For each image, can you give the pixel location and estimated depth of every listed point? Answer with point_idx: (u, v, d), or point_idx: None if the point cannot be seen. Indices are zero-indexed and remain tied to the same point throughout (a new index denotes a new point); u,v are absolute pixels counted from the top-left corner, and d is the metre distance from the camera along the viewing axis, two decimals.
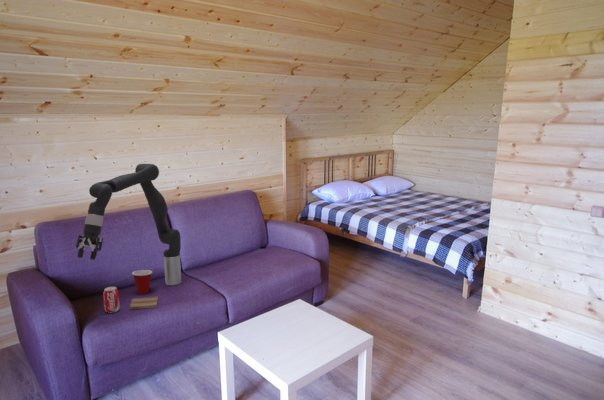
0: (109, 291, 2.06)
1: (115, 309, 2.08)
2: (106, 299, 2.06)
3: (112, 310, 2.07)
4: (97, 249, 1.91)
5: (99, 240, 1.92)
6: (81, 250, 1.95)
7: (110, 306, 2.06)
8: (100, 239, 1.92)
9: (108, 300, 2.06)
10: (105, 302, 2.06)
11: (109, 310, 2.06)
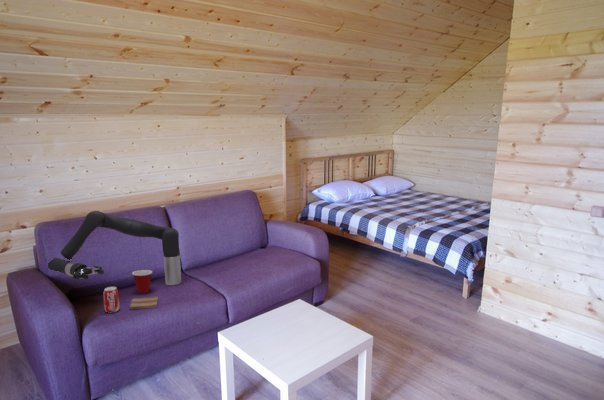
0: (109, 291, 2.06)
1: (115, 309, 2.08)
2: (106, 299, 2.06)
3: (112, 310, 2.07)
4: (76, 278, 2.09)
5: (72, 276, 2.11)
6: (98, 271, 2.18)
7: (110, 306, 2.06)
8: (71, 275, 2.11)
9: (108, 300, 2.06)
10: (105, 302, 2.06)
11: (109, 310, 2.06)
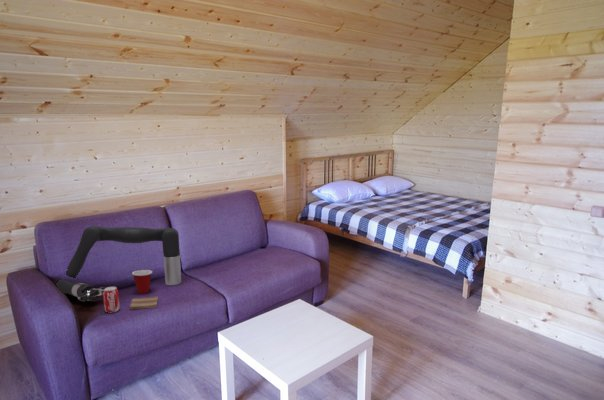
0: (109, 291, 2.06)
1: (115, 309, 2.08)
2: (106, 299, 2.06)
3: (112, 310, 2.07)
4: (83, 300, 2.09)
5: (78, 298, 2.11)
6: None
7: (110, 306, 2.06)
8: (78, 297, 2.12)
9: (108, 300, 2.06)
10: (105, 302, 2.06)
11: (109, 310, 2.06)
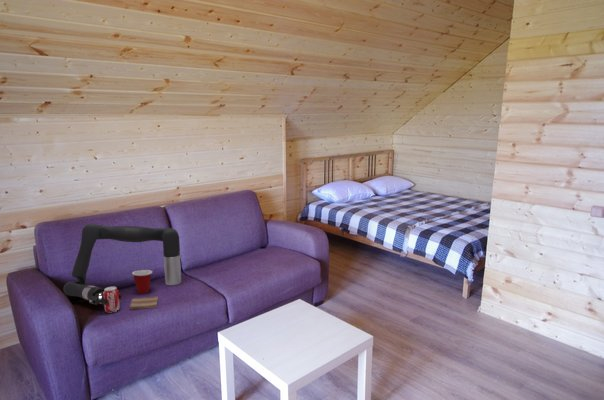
0: (109, 291, 2.06)
1: (115, 309, 2.08)
2: (106, 299, 2.06)
3: (112, 310, 2.07)
4: (96, 303, 2.05)
5: (90, 302, 2.07)
6: None
7: (110, 306, 2.06)
8: (89, 300, 2.07)
9: (108, 300, 2.06)
10: None
11: (109, 310, 2.06)
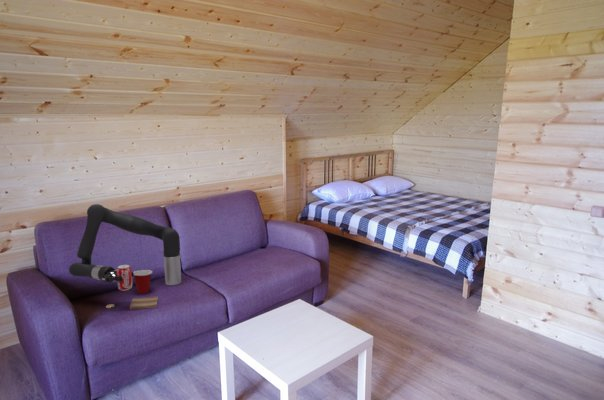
0: (123, 269, 2.07)
1: (129, 286, 2.10)
2: None
3: (126, 287, 2.09)
4: (110, 281, 2.06)
5: (103, 280, 2.07)
6: None
7: (125, 283, 2.08)
8: (102, 279, 2.07)
9: (123, 277, 2.07)
10: None
11: (123, 287, 2.08)
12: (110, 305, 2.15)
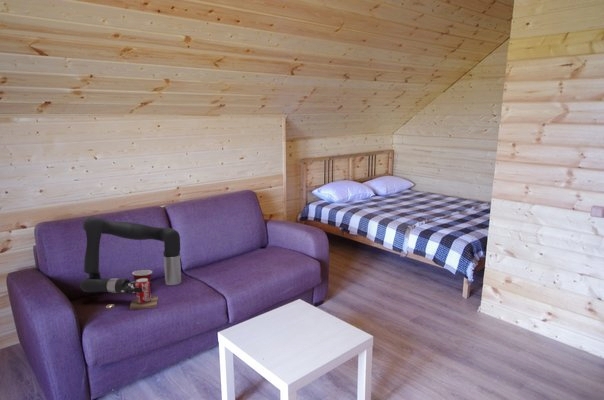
0: (143, 282, 2.13)
1: (148, 299, 2.16)
2: None
3: (146, 300, 2.15)
4: (130, 293, 2.10)
5: (123, 292, 2.11)
6: None
7: (145, 296, 2.14)
8: (122, 291, 2.11)
9: (143, 290, 2.13)
10: (139, 293, 2.13)
11: (143, 300, 2.14)
12: (110, 305, 2.15)
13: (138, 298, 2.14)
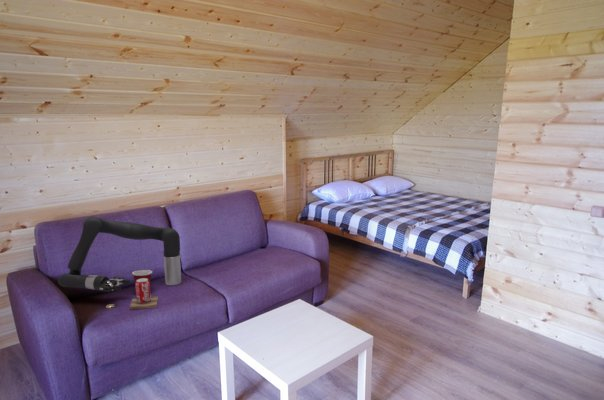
0: (143, 282, 2.13)
1: (148, 299, 2.16)
2: (141, 290, 2.13)
3: (146, 300, 2.15)
4: (108, 291, 2.13)
5: (101, 289, 2.13)
6: (123, 282, 2.23)
7: (145, 296, 2.14)
8: (100, 288, 2.13)
9: (143, 290, 2.13)
10: (139, 293, 2.13)
11: (143, 300, 2.14)
12: (110, 305, 2.15)
13: (138, 298, 2.14)
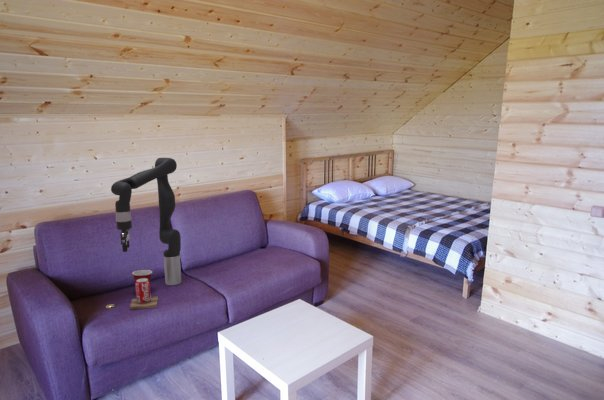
0: (143, 282, 2.13)
1: (148, 299, 2.16)
2: (141, 290, 2.13)
3: (146, 300, 2.15)
4: (122, 244, 2.12)
5: (121, 236, 2.12)
6: None
7: (145, 296, 2.14)
8: (122, 234, 2.12)
9: (143, 290, 2.13)
10: (139, 293, 2.13)
11: (143, 300, 2.14)
12: (110, 305, 2.15)
13: (138, 298, 2.14)
